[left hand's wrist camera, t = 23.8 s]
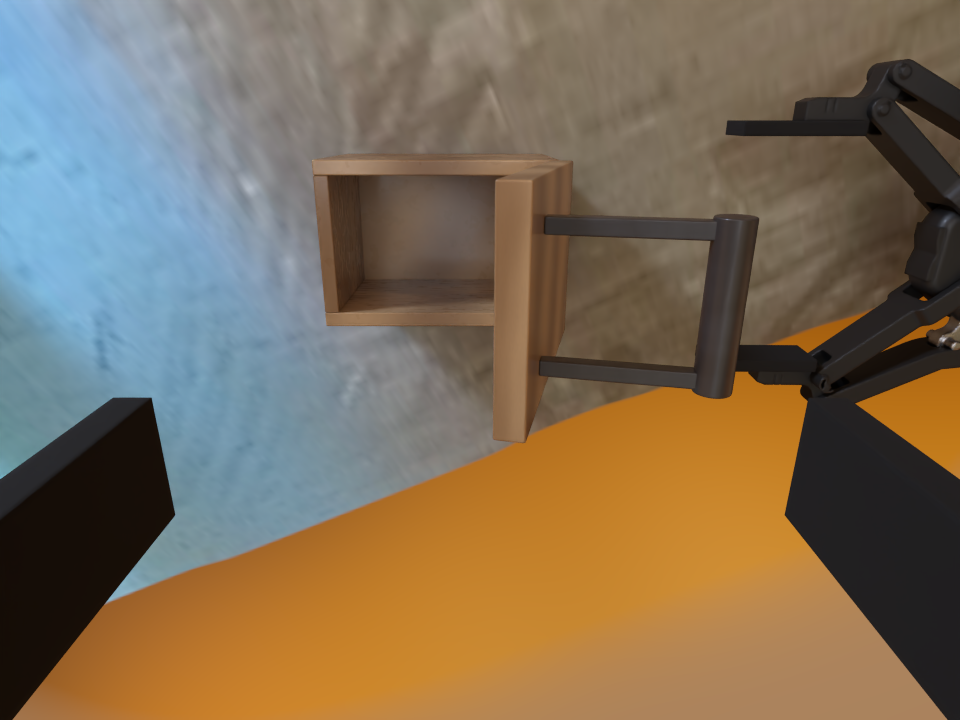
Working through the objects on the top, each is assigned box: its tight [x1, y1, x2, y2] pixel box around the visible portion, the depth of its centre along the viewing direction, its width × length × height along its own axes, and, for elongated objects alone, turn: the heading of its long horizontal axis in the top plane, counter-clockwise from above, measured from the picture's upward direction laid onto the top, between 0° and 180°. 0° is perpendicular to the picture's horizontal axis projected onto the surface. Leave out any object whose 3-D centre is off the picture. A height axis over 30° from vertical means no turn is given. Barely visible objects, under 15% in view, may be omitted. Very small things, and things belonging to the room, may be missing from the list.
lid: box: [493, 161, 759, 443], centre depth 27 cm, size 14×10×9 cm
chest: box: [312, 154, 559, 326], centre depth 40 cm, size 14×10×10 cm
